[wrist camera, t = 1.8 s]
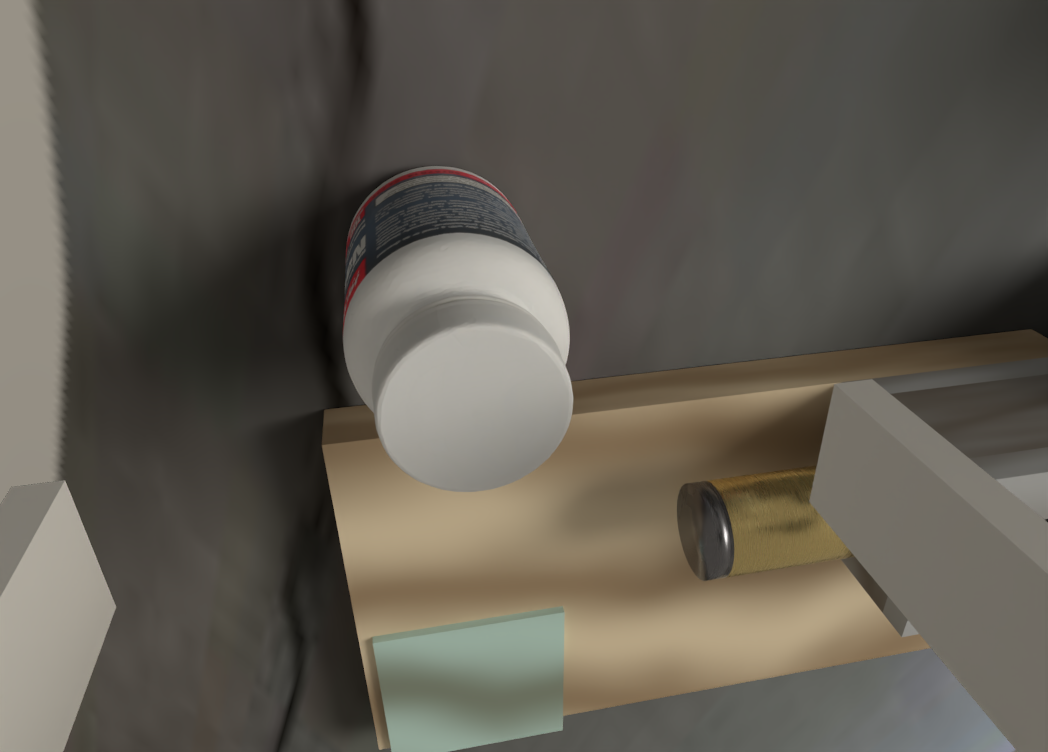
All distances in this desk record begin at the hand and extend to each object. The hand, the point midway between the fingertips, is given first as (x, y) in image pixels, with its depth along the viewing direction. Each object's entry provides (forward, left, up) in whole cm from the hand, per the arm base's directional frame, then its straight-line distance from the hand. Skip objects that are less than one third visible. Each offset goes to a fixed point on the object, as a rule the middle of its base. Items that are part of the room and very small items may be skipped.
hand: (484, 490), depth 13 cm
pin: (+8, +11, -8) cm, 15 cm away
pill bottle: (0, 0, -11) cm, 11 cm away
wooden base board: (+12, +9, -11) cm, 19 cm away
